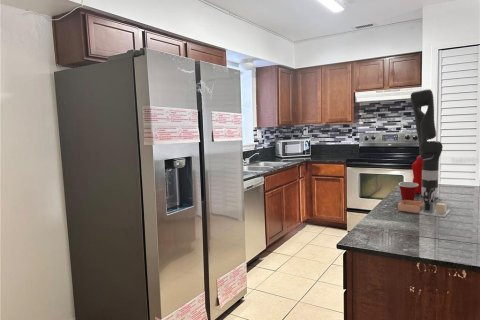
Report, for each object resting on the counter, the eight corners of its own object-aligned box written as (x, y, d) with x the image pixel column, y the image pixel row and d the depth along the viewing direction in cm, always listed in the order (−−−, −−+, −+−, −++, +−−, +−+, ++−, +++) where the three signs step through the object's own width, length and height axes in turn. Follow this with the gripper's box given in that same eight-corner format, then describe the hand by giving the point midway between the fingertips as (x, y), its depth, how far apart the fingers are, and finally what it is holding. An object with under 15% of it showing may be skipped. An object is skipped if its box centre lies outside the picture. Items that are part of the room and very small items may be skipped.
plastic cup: (397, 204, 196) (397, 184, 195) (398, 200, 206) (398, 181, 205) (418, 206, 191) (418, 185, 190) (418, 201, 201) (418, 182, 200)
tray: (426, 208, 185) (426, 206, 185) (450, 211, 177) (450, 209, 177) (419, 214, 175) (419, 212, 175) (444, 217, 167) (444, 215, 167)
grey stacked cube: (425, 210, 181) (426, 201, 180) (434, 211, 178) (434, 202, 177) (423, 211, 178) (424, 202, 177) (432, 213, 175) (432, 203, 174)
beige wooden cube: (437, 211, 177) (437, 202, 176) (446, 212, 174) (446, 203, 174) (435, 213, 174) (435, 204, 173) (444, 214, 171) (444, 205, 171)
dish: (404, 206, 192) (404, 199, 191) (425, 209, 184) (425, 202, 184) (397, 210, 183) (397, 203, 182) (419, 213, 176) (419, 206, 175)
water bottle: (407, 191, 231) (407, 155, 228) (423, 190, 231) (423, 155, 228) (413, 194, 222) (414, 157, 219) (430, 193, 221) (431, 156, 219)
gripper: (425, 176, 184) (424, 205, 185) (418, 179, 173) (417, 210, 175) (441, 177, 178) (440, 207, 180) (434, 181, 168) (433, 212, 170)
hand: (429, 208), depth 178 cm, fingers open, 6 cm apart
